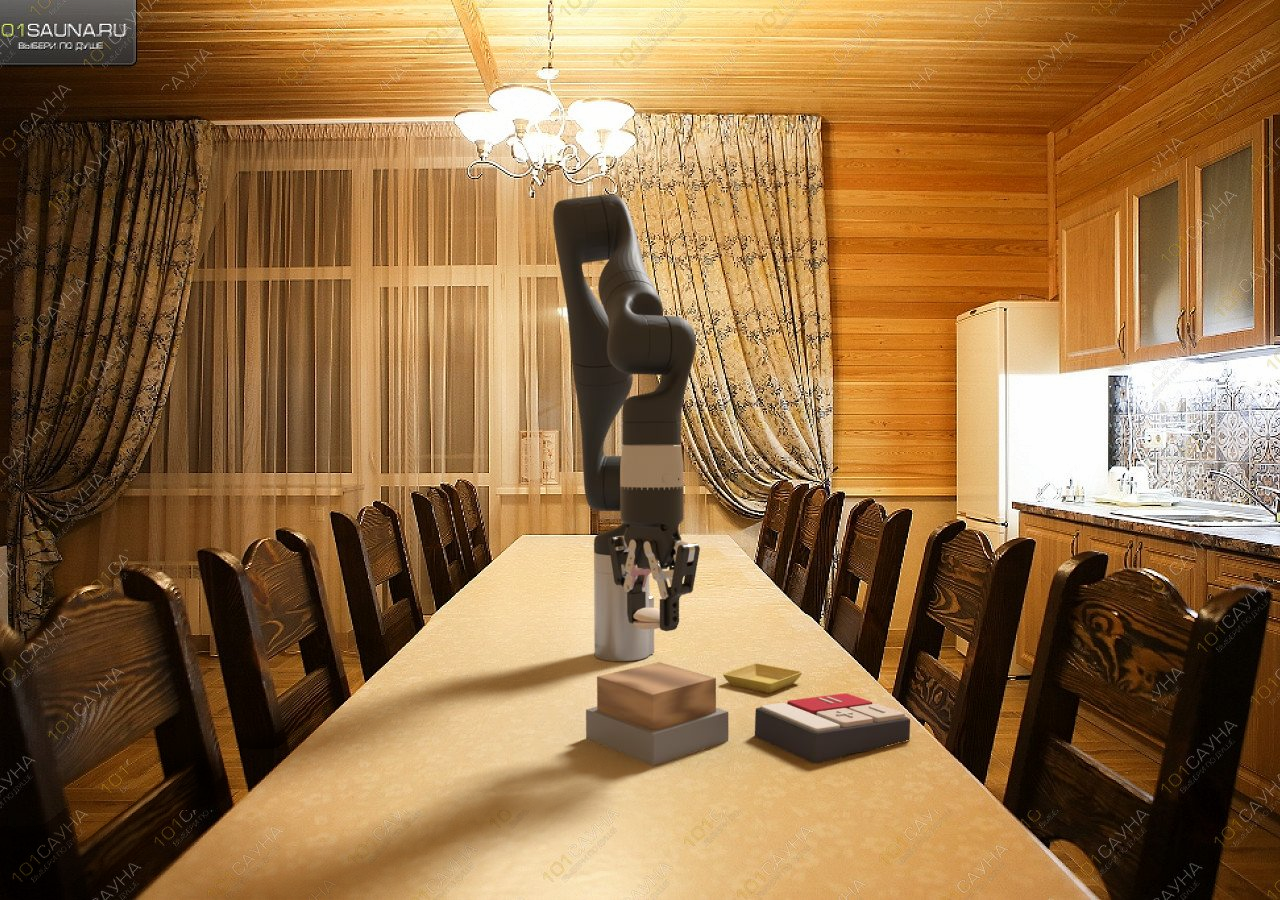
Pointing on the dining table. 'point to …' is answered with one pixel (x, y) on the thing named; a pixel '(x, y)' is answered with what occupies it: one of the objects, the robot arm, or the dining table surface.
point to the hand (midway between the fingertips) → (652, 625)
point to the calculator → (830, 726)
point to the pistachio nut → (647, 618)
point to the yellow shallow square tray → (762, 677)
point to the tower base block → (657, 736)
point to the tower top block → (656, 695)
